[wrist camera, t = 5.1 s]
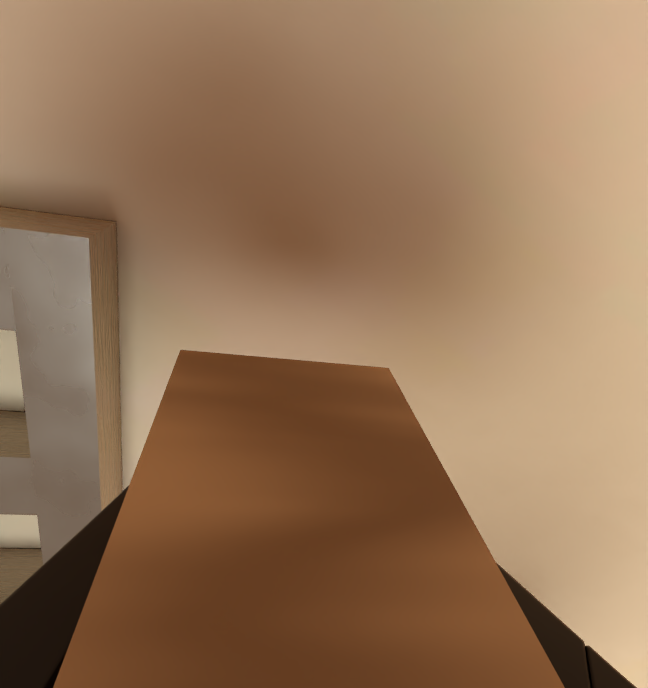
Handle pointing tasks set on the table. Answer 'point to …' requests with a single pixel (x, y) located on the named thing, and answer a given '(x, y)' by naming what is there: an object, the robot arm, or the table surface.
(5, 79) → the table surface
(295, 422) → the walnut peg
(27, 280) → the grey peg hole board
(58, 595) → the robot arm
